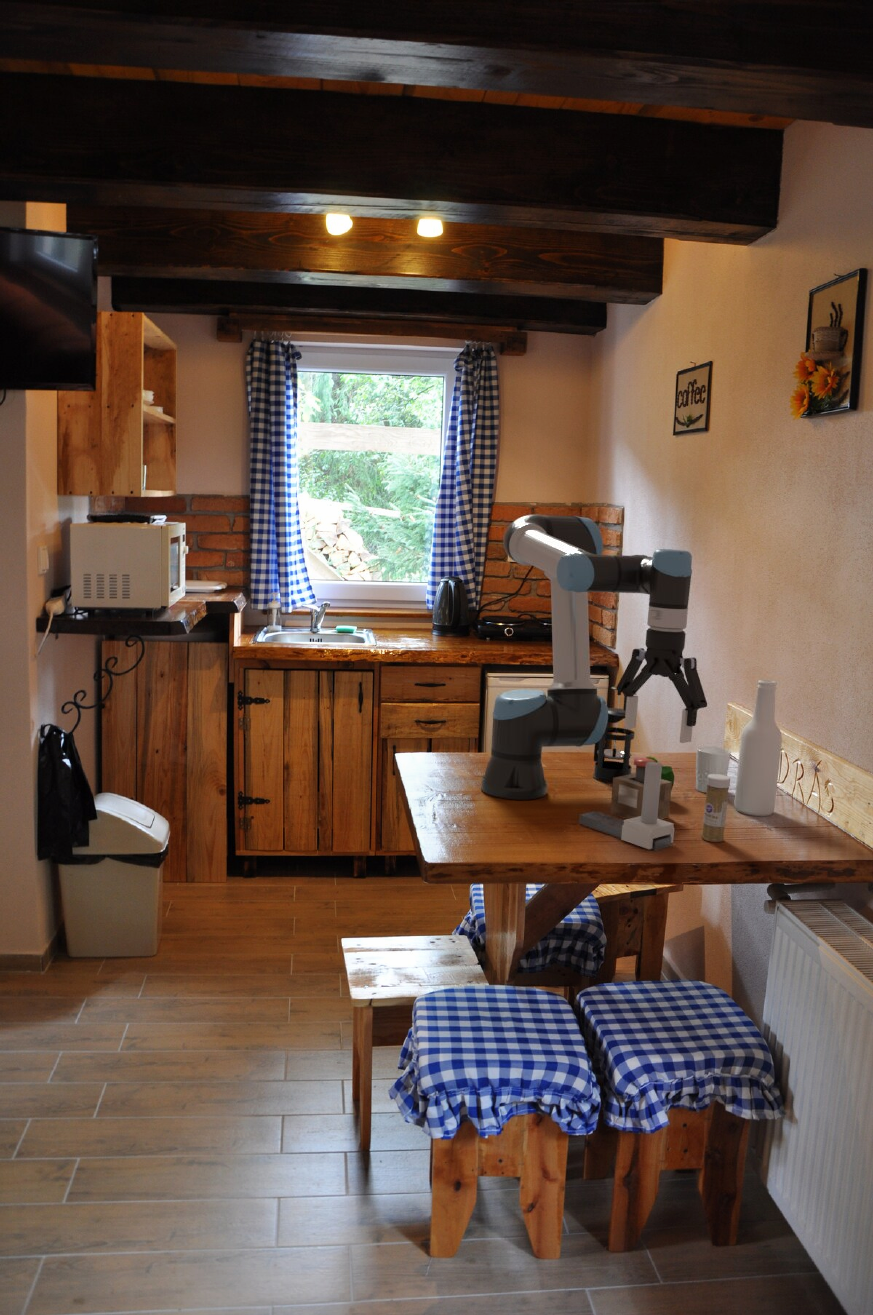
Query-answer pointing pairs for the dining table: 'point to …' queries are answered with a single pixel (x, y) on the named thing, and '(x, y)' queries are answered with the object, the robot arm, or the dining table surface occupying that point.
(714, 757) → the white cup
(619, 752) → the french press
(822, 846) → the dining table surface
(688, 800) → the dining table surface
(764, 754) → the alcohol
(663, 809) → the button box
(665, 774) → the bell pepper
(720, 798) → the sprinkles bottle
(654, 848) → the rail
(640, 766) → the red button
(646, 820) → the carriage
